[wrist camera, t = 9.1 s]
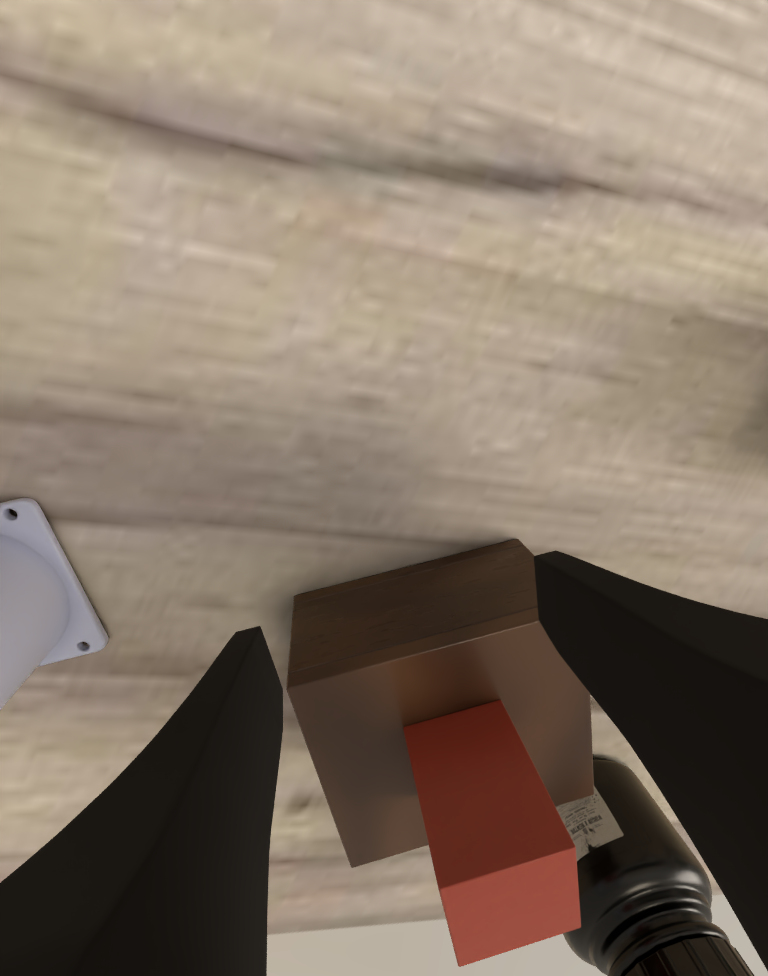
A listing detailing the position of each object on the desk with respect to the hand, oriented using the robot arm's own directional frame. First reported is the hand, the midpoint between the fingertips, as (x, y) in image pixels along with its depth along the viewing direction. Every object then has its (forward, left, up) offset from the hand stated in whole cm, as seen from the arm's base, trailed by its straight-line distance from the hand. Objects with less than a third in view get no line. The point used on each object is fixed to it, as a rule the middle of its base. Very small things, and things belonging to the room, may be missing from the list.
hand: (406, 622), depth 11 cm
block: (+1, -10, -4) cm, 11 cm away
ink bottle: (+10, -26, -11) cm, 30 cm away
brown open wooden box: (+1, -10, -10) cm, 15 cm away
